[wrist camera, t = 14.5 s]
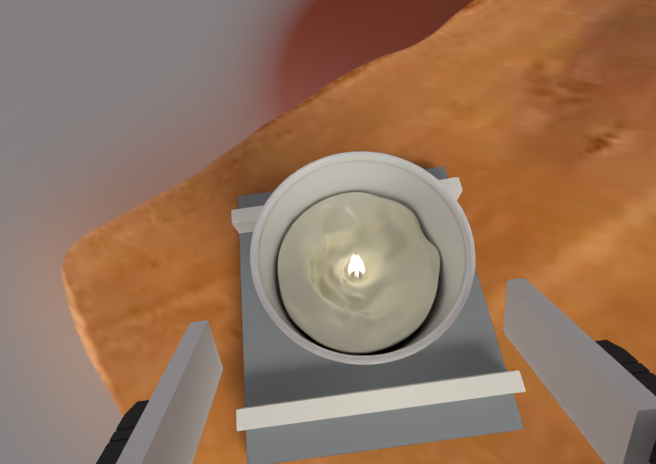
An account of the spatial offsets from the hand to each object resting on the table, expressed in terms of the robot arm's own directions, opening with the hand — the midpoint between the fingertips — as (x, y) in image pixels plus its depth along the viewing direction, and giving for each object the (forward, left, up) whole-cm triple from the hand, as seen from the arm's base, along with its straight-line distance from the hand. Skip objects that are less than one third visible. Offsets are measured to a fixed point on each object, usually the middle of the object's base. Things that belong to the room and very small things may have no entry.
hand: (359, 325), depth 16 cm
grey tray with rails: (-3, -2, -12) cm, 12 cm away
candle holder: (-2, -2, -11) cm, 11 cm away
